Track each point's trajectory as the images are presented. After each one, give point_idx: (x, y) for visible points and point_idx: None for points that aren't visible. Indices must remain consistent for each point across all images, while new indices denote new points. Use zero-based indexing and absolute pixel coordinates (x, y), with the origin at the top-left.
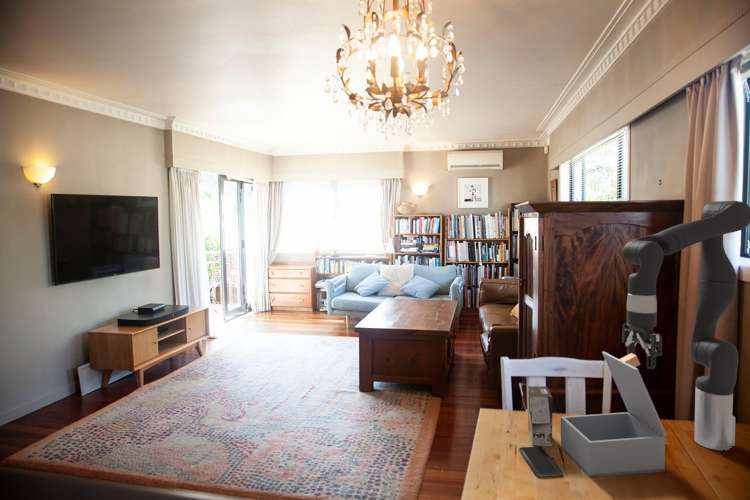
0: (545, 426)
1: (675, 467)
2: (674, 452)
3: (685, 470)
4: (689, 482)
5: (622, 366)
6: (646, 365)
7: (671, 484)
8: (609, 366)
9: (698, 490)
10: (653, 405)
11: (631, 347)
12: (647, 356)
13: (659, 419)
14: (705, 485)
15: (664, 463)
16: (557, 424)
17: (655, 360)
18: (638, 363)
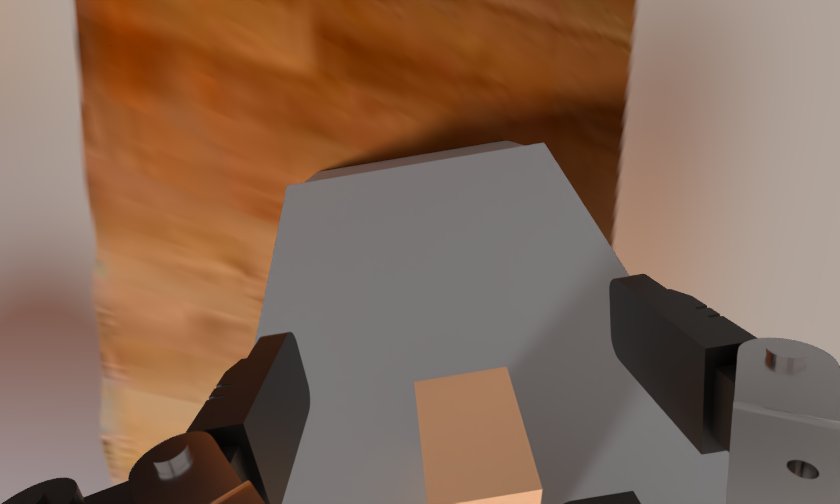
0: None
1: (483, 87)
2: (380, 27)
3: (502, 62)
4: (570, 92)
5: None
6: (627, 368)
7: (576, 157)
8: None
9: (613, 90)
10: (611, 248)
11: (262, 484)
12: (718, 447)
13: (574, 192)
14: (590, 48)
15: (513, 142)
16: (200, 363)
17: (741, 334)
18: (514, 396)
